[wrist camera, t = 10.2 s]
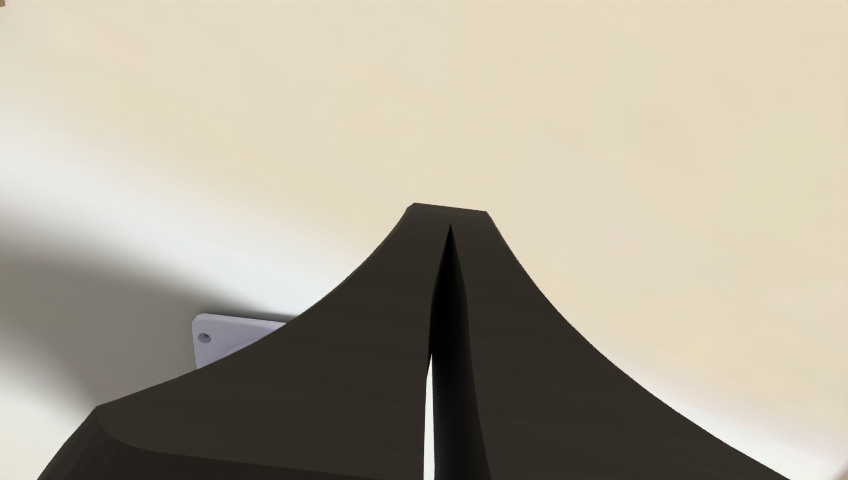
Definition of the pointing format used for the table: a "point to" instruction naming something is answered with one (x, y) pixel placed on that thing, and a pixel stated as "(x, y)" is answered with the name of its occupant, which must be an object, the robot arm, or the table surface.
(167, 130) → the table surface
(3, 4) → the wooden bracket frame
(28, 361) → the table surface
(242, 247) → the table surface
